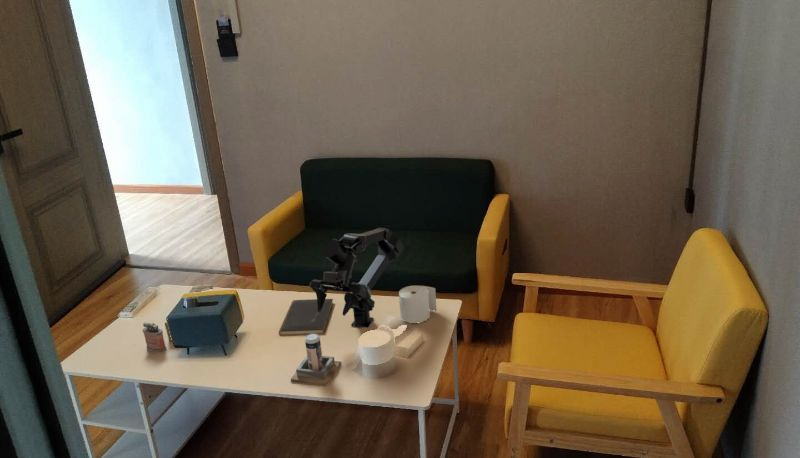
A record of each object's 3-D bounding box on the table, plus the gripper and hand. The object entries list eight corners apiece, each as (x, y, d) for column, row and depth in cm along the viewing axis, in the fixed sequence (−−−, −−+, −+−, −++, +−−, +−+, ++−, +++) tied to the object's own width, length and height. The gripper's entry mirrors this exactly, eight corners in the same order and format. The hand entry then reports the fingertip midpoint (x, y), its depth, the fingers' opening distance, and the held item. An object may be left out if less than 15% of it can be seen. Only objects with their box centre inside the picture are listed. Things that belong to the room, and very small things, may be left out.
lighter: (169, 348, 215) (163, 323, 212) (161, 353, 213) (155, 327, 209) (151, 344, 219) (145, 319, 215) (144, 349, 216) (138, 324, 212)
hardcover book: (333, 303, 240) (332, 298, 239) (323, 334, 218) (323, 329, 217) (292, 305, 241) (292, 300, 240) (279, 336, 219) (278, 330, 218)
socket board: (306, 360, 202) (305, 351, 201) (341, 364, 199) (340, 354, 197) (290, 381, 191) (289, 372, 190) (326, 386, 188) (325, 376, 187)
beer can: (324, 372, 193) (320, 339, 189) (309, 375, 192) (304, 341, 188) (323, 364, 198) (319, 331, 193) (308, 366, 197) (303, 334, 192)
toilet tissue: (394, 318, 224) (392, 294, 221) (415, 305, 232) (413, 281, 229) (417, 327, 217) (415, 301, 214) (438, 313, 226) (436, 288, 222)
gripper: (308, 257, 205) (295, 302, 199) (359, 263, 198) (346, 309, 192) (323, 269, 214) (310, 312, 209) (371, 275, 207) (360, 320, 202)
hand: (331, 313), depth 203 cm, fingers open, 9 cm apart
